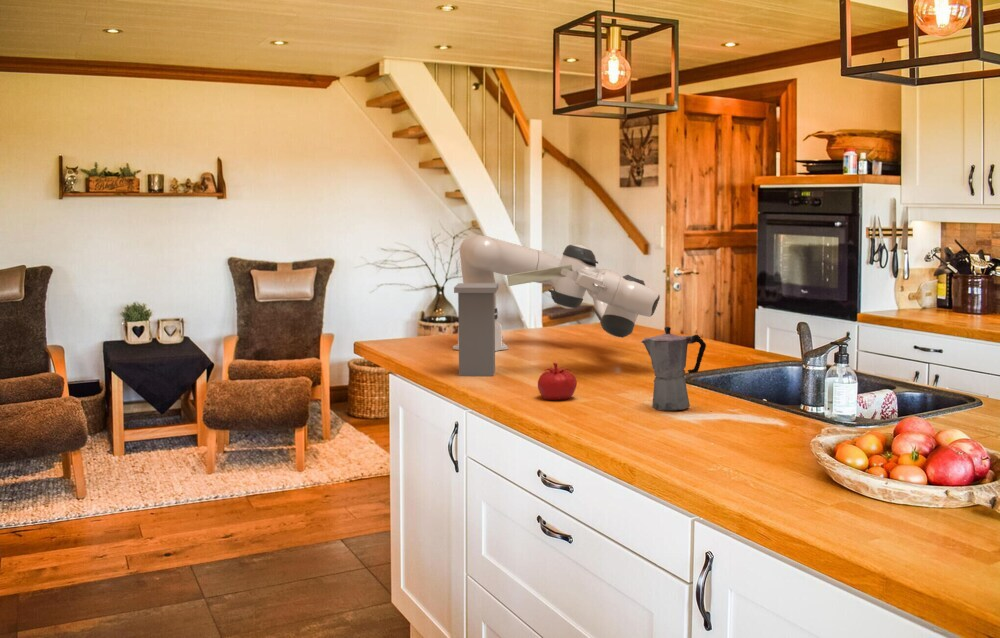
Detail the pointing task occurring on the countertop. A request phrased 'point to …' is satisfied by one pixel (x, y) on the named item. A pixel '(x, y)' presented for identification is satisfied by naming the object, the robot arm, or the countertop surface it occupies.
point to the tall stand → (476, 328)
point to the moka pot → (671, 368)
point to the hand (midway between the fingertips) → (560, 270)
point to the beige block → (537, 275)
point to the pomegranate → (557, 384)
